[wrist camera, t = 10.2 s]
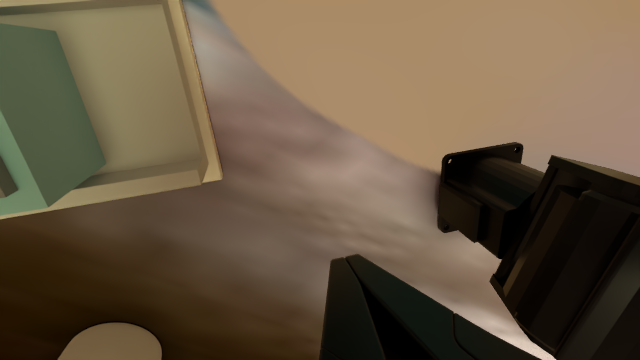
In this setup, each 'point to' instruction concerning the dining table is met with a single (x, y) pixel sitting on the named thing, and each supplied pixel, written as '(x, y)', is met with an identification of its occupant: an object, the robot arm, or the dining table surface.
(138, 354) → the mug
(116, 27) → the mount board
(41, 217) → the dining table surface
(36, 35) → the block
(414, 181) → the dining table surface
